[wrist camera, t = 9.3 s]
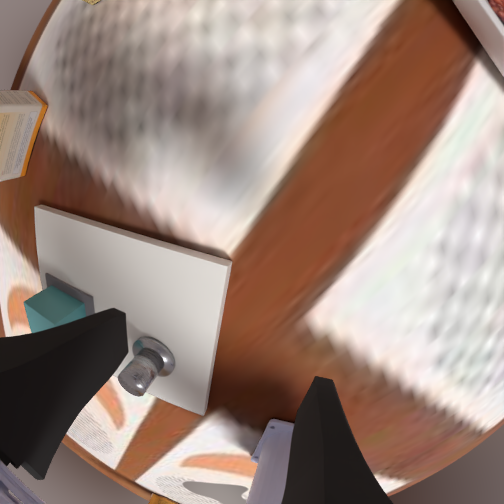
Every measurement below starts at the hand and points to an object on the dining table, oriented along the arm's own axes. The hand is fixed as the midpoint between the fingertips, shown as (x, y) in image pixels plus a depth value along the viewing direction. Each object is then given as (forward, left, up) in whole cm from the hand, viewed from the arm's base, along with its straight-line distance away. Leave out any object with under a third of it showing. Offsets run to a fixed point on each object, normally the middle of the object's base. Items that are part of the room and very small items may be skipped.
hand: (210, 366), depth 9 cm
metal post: (-10, +7, -9) cm, 15 cm away
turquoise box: (-10, +17, -8) cm, 21 cm away
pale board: (-8, +12, -9) cm, 17 cm away
